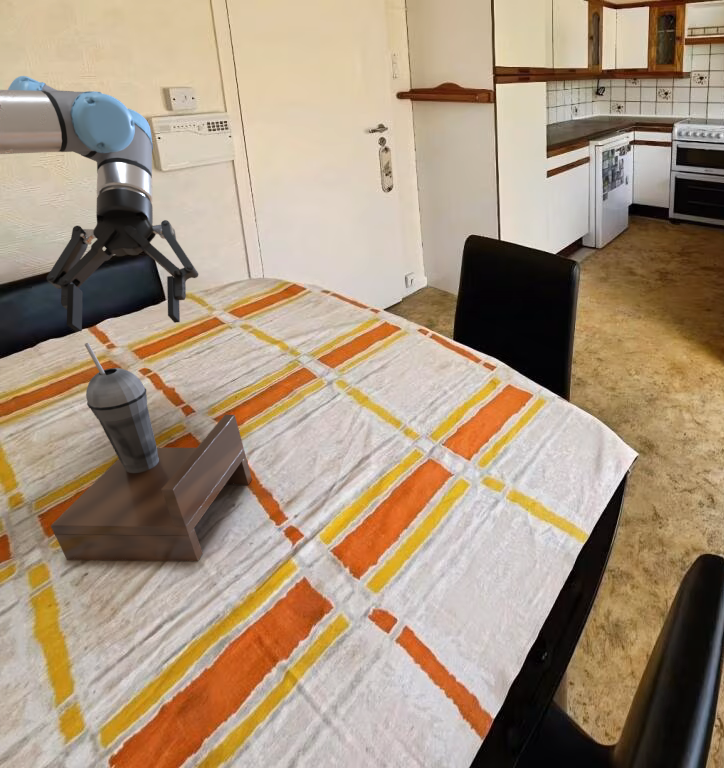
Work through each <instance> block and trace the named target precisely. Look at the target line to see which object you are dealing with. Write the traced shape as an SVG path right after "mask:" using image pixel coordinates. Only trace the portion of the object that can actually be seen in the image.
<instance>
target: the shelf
mask: <svg viewBox="0 0 724 768" xmlns="http://www.w3.org/2000/svg"><path fill="white" fill-rule="evenodd" d="M245 451H246V450H245V447H244V444H243V439H242V436H241V433H240V429H239V426H238V422H237V417H236V414H224V415H223V417H222V418H221V419H219V420H218V422H217V424H215V426H214V427H213V428H212V429H211V430H210V431H209V433H208V434H207V435H206V436H205V438H204V439H202V440H201V442H200V444H198V446H197V447H157V453H158V458H159V462H158V463H157V465H155V466H154V467H153V468H151V469H149V470H147V471H144V472H140V473H129V472H127V471H126V470H125V468H124V466H123V464H122V463H121V462H120V460H119V458H117V460H116V461H115V462H114V463H113V464H111V466H110V467H109V468H108V469H106V471H104V472H103V473H102V474H101V475H100V476H99V477H98V479H96V480H95V481H94V482H93V483H92V484H91V485H90V486H89V487H88V488H87V489H86V490H85V491H84V492H83V493H81V495H80V496H79V497H78V498H77V499H76V500H75V501H74V502H73V503H72V504H71V505H70V506H68V508H67V509H66V510H64V512H63V513H61V514H60V516H59V517H58V518H57V519H56V520H55V521H53V522H52V523H51V525H50V528H51V530H52V532H53V534H54V536H55V538H56V541H57V542H58V545H59V547H60V549H61V551H62V553H63V556H64V557H65V559H66V560H67V561H121V562H123V561H125V562H127V561H131V562H133V561H134V562H199V560H200V559H201V557H202V556H203V554H204V552H203V550H202V547H201V543H200V541H199V538H198V535H197V532H196V529H195V527H196V526H197V525H198V523H199V522H200V521H201V520H202V518H203V516H204V515H205V513H207V511H208V510H209V508H210V506H211V505H212V504H213V502H214V501H215V500H216V498H217V497H218V495H219V494H220V492H221V491H222V490H223V489H224V486H249V484H251V482H252V480H253V478H252V474H251V469H250V466H249V463H248V459H247V456H246V452H245Z"/></svg>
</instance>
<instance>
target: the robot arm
mask: <svg viewBox="0 0 724 768" xmlns="http://www.w3.org/2000/svg"><path fill="white" fill-rule="evenodd" d="M153 149H154V144H153V138H152V131H151V127H150V124H149V122H148V120H147V119H146V118H145V117H144V116H143V115H142V114H141V113H140V112H137V110H136V111H135V110H134V109H132V108H131V109H130V108H127V106H126V104H124V103H123V102H121V101H120V100H119V99H117V98H115V97H114V96H112V95H109V94H107V93H102V92H101V91H94V90H93V91H73V90H59V89H55V88H53V87H51V86H50V85H47V84H46V83H45V82H44V81H38V80H36V79H34V78H32V77H29V76H26V75H20V76H18V77H16V78H14V79H13V80H12V82H11V83H10V85H9V86H8V89H0V155H14V154H15V155H16V154H39V153H75V154H78V155H80V156H81V157H84V158H86V159H89V160H92V161H93V162H96V173H97V175H96V177H97V178H96V211H95V213H96V215H95V216H96V225H95V227H94V229H92V228H91V229H90V228H83V227H81V226H80V225H75V226H73V227H72V231H71V237H70V239H69V241H68V243H67V244H66V246H65V247H64V249H63V251H62V252H61V254H60V255H59V257H58V259H57V260H56V261H55V263H54V265H53V267H52V268H51V270H50V271H49V273H48V274H47V275H46V281H47V282H48V283H50V284H51V285H52V286H53V287H54V288H55V289H57V290H60V305H61V306H62V307H63V308H64V309H65V310H66V326H68V327H69V328H70V329H72V330H73V331H74V332H76V333H79V332H82V331H83V298H84V297H83V296H84V295H83V292H84V291H82V289H80V287H81V286H82V285H83V284H84V283H85V282H86V281H87V280H88V279H89V278H90V277H91V276H92V275H93V274H94V272H96V271H97V270H98V269H99V267H100V266H102V264H104V263H105V262H107V261H110V259H111V258H112V257H114V256H116V257H123V256H128V255H130V256H139V254H140V253H142V252H144V253H145V254H147V256H149V257H150V258H151V259H152V260H154V261H155V262H156V263H157V264H158V265H160V266H161V267H162V268H163V269H164V270H165V271H166V272H167V273H169V275H168V276H166V281H167V282H166V283H167V285H166V286H167V289H166V290H167V291H166V292H167V316H168V317H169V319H170V320H171V321H172V322H173V323H180V322H181V319H180V317H181V316H180V313H181V312H180V311H181V310H180V301H185V300H186V298H187V291H186V290H187V289H186V282H187V281H188V280H189V279H197V278H198V277H199V272H198V271H197V269H196V267H195V266H194V265H193V263H192V261H191V260H190V258H189V257H188V255H187V254H186V252H185V251H184V250H183V248H182V246H181V245H180V243H179V242H178V240H177V236H176V231H175V229H174V227H173V225H172V224H171V223H170V221H168V220H167V219H164V220H162V221H161V222H160V224H155V225H153V223H154V221H153V220H154V218H153V216H154V215H153V211H154V210H153V209H154V207H153ZM156 235H158V236H159V237H160V238H161V239H163V240H166V242H167V243H168V245H169V246H170V248H171V250H172V251H173V253H174V254H175V256H176V257H177V259H178V260H179V262H180V263H181V265H182V266H183V267H182V268H179V267H178V266H177V265H175V264H174V263H173V262H172V261H171V260H170V259H169V258H168V257H167V256H165V255H164V254H163V253H162V252H160V250H158V249H157V248H156V247H155V246H154V245H153V244H152V241H153V240H154V239H155V237H156ZM94 239H96V240H95V241H94V242H93V243H92V241H93V240H94ZM89 245H91V246H90V249H89V250H88V251H87V249H88V246H89ZM103 248H105V250H104V249H103ZM86 251H87V252H86ZM85 252H86V253H85Z"/></svg>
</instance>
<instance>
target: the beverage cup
mask: <svg viewBox="0 0 724 768" xmlns="http://www.w3.org/2000/svg"><path fill="white" fill-rule="evenodd" d="M84 346H85V349H86V351H87V353H88V354H89V355H90V358H91V359H92V361H93V363H94V365H95V366H96V369H97V371H98V372H96V374H94V375H93V376H92V378H91V379H90V380H89V382H88V385H87V387H86V390H85V391H86V392H85V396H86V402H87V403H86V405H87V407H88V408H89V409H90V410H91V412H92V413H93V415H94V416H95V418H96V419H98V422H99V423H100V425H101V428H102V429H103V432H104V433H105V435H106V437H107V439H108V441H109V443H110V444H111V447H112V448H113V450H114V452H115V454H116V456H117V459H119V460H120V462H121V463H122V464H123V466H124V468H125V470H126V471H127V472H129V473H140V472H144V471H147V470H149V469H151V468H153V467H154V466H155V465H157V463H158V462H159V458H158V453H157V448H158V447H157V442H156V439H155V433H154V429H153V424H152V421H151V417H150V412H149V408H148V395H147V388H146V387H145V385H144V383H143V382H142V381H141V380H140V378H139V377H138V376H137V375H136V374H135V373H133V372H132V371H129V370H126V369H125V368H119V367H111V368H106V369H104V368H103V366H102V365H101V363H100V361H99V359H98V357H97V356H96V354H95V352H94V350H93V348H92V347H91V345H90V343H89V342H86V343H84Z"/></svg>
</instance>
